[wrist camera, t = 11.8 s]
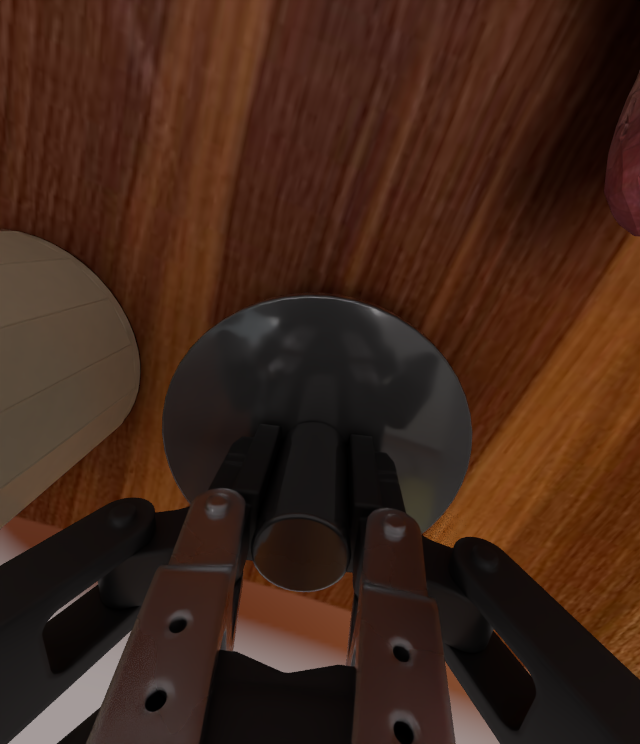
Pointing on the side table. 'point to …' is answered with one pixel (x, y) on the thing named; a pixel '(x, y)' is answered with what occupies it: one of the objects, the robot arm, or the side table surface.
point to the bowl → (626, 165)
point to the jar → (56, 366)
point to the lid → (318, 421)
